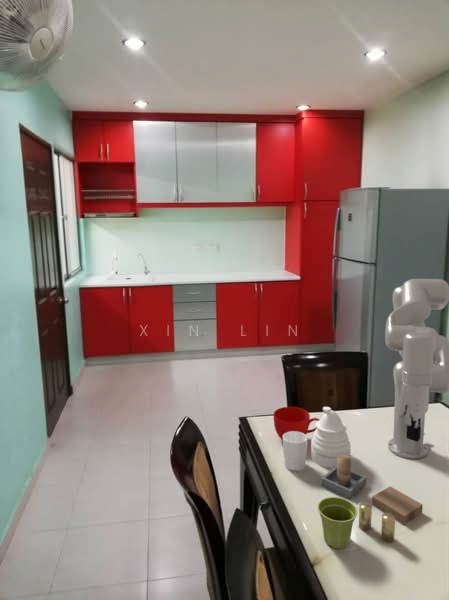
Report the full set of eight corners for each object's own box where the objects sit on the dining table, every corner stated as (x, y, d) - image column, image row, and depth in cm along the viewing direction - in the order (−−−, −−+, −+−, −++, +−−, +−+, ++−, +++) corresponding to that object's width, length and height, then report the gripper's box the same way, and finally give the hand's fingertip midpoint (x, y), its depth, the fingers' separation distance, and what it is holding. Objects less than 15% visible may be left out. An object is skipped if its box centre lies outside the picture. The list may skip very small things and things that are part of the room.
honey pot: (328, 472, 134) (329, 419, 131) (303, 453, 145) (303, 404, 142) (358, 461, 140) (360, 410, 137) (332, 444, 151) (333, 396, 148)
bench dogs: (362, 521, 111) (362, 500, 110) (396, 538, 105) (397, 516, 104) (356, 527, 109) (357, 506, 108) (390, 544, 103) (392, 522, 102)
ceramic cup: (321, 451, 146) (321, 424, 145) (272, 447, 149) (272, 421, 148) (319, 433, 159) (320, 408, 157) (274, 430, 162) (274, 405, 160)
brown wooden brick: (389, 495, 122) (390, 486, 122) (422, 514, 114) (422, 504, 113) (371, 506, 118) (372, 496, 117) (403, 526, 110) (404, 516, 109)
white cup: (307, 473, 134) (307, 444, 132) (281, 471, 135) (281, 442, 133) (307, 459, 141) (307, 432, 139) (283, 457, 143) (283, 430, 141)
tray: (337, 472, 134) (337, 464, 133) (366, 484, 127) (366, 476, 127) (321, 485, 127) (321, 478, 127) (350, 499, 120) (350, 491, 120)
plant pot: (312, 528, 109) (312, 497, 108) (347, 525, 110) (348, 495, 109) (323, 555, 100) (324, 523, 99) (362, 552, 101) (363, 519, 99)
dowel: (341, 477, 130) (341, 453, 128) (353, 482, 127) (353, 458, 126) (334, 483, 127) (334, 458, 126) (346, 488, 124) (346, 463, 123)
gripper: (413, 367, 124) (410, 425, 127) (391, 381, 114) (388, 444, 117) (440, 373, 119) (436, 433, 122) (420, 388, 109) (416, 454, 112)
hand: (413, 438), depth 120 cm, fingers closed
